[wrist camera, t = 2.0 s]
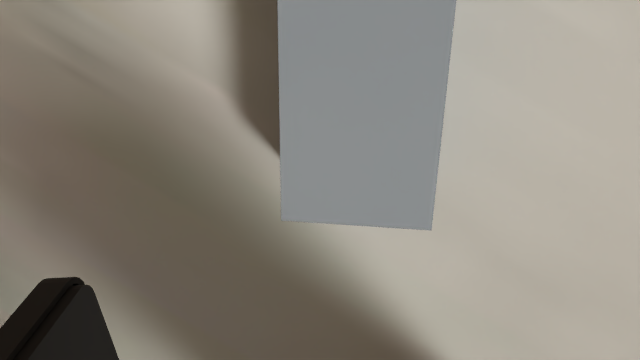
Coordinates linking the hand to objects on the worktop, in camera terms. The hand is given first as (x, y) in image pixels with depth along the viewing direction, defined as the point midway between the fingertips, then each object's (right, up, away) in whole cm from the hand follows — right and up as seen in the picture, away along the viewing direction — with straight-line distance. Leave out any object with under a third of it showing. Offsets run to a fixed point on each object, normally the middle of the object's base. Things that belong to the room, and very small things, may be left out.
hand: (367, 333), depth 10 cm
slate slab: (+1, +10, +10) cm, 14 cm away
